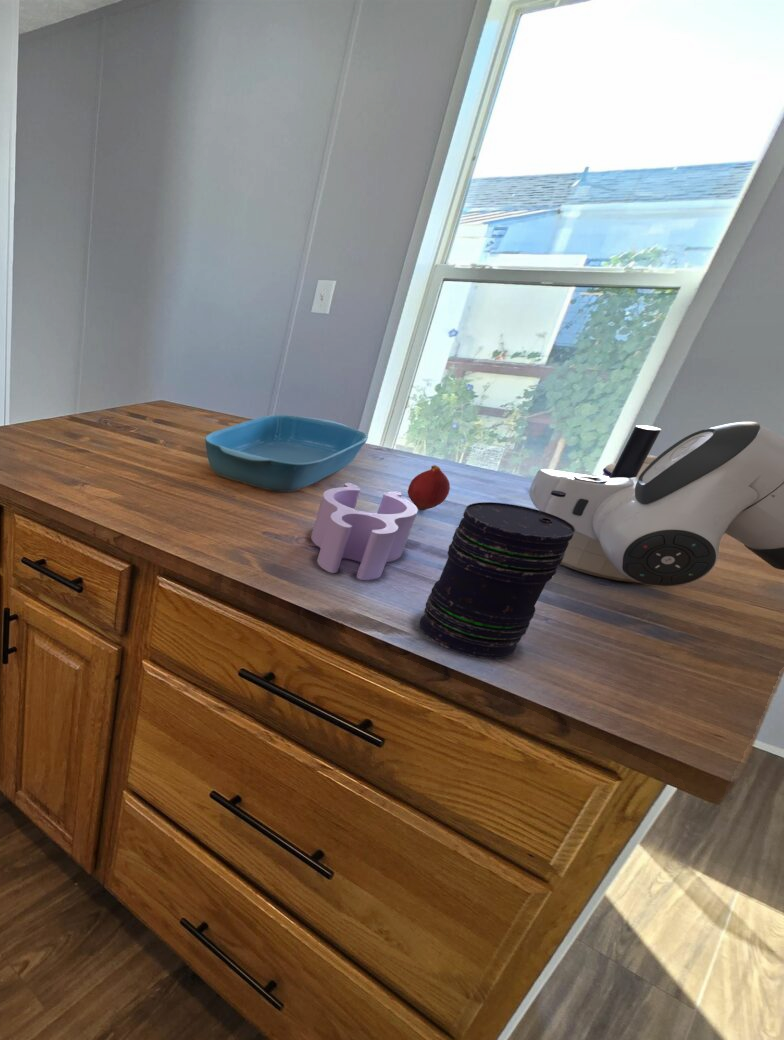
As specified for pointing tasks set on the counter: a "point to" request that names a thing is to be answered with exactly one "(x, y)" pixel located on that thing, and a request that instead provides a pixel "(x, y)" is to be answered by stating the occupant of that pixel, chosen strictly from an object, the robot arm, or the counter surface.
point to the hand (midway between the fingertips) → (617, 483)
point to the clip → (361, 530)
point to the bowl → (590, 558)
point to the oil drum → (494, 578)
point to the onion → (429, 488)
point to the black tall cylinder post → (635, 452)
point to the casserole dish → (282, 451)
